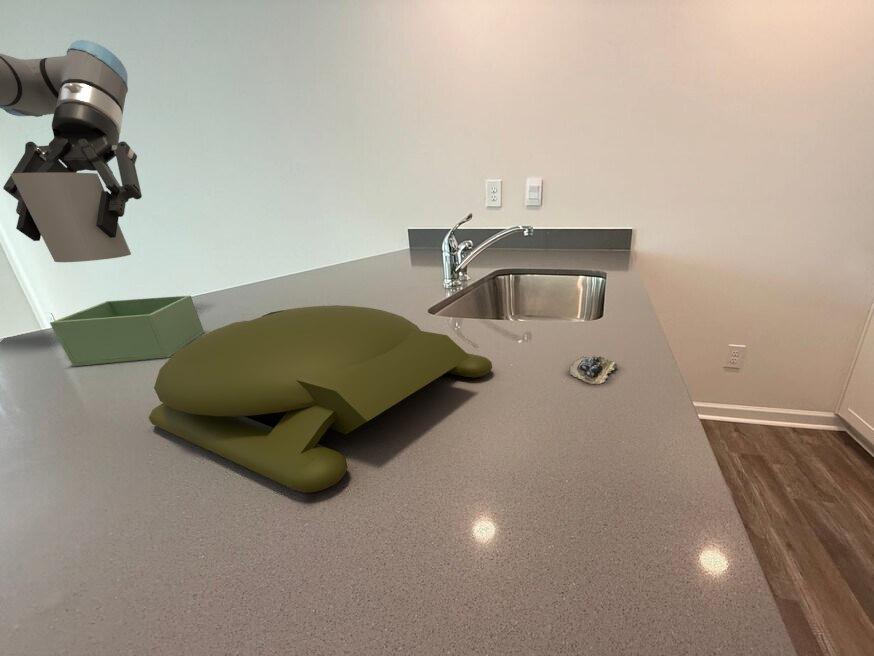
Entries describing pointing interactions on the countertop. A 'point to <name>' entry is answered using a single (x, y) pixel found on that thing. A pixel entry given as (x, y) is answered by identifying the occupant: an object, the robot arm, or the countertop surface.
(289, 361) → the spaceship
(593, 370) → the blueberries
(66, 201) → the cup
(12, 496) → the countertop surface
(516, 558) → the countertop surface
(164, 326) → the bin
